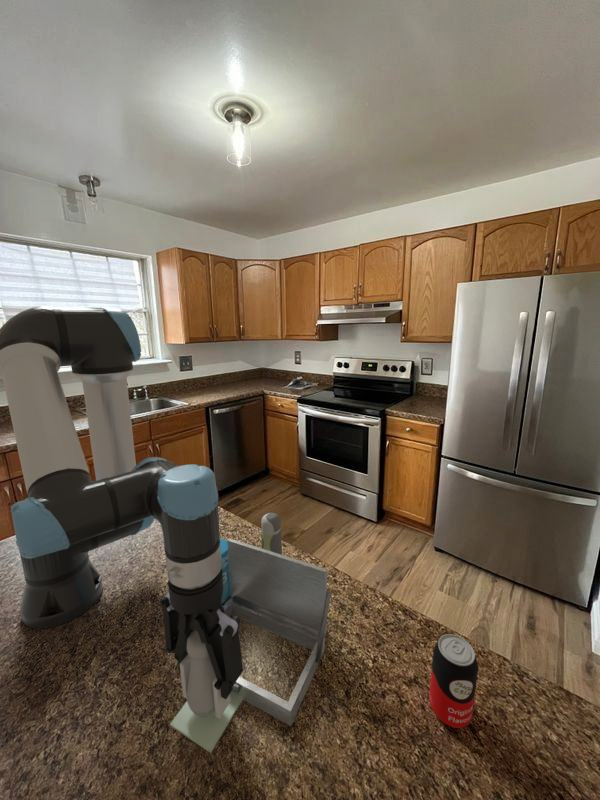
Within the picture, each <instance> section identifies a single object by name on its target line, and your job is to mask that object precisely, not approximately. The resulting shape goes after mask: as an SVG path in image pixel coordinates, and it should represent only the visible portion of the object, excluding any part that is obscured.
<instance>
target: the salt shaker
mask: <svg viewBox="0 0 600 800" xmlns="http://www.w3.org/2000/svg"><path fill="white" fill-rule="evenodd" d="M187 652H188V655H189V657H190V658H191V662H190V671H189V681H188V690H187V699H186V702H187V703H188V705H189V707H190V709H191V711H192V712H193V713H194V714H195V715H198V716H201V717H205V718H206V717H208V716H209V715H211V714H212V713H213V712H215V703H214V691H213V681H214V680H215V678H216V676H215V672H214V669H213V666H212V663H211V660H210V657H209V654H208V651H207V648H206V645H205V644H204V643H202V642H201V640H200V637H199V634H198V632H197V631H196V630H195V631H193V632H192V633H191V634H190V636H189V637H188V639H187Z"/></svg>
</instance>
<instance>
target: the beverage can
mask: <svg viewBox="0 0 600 800" xmlns="http://www.w3.org/2000/svg"><path fill="white" fill-rule="evenodd" d="M430 674H431V675H430V683H429V684H430V685H429V686H430V687H429V694H428V695H429V698H428V699H429V704H430V707H431V709H432V711H433V713H434V714H435V716H436V717H437V718H438V720H440V721H441V722H443V724H445V725H447V726H449V727H451V728H456V729H462V728H463V729H464V728H465V727H467V726H468V725H469V724H470V723H471V721H472V719H473V713H474V704H475V699H476V697H475V695H476V689H477V683H478V682H477V681H478V674H479V663H478V660H477V657H476V653H475V649H473V646H472V645H471V643H469V642H468V641H467V640H466V639H465V638H463V637H461V636H459V635H457V634H451V633H447V634H443V635H441V636H440V638H439V639H438V641H437V643H435V645H434V648H433V652H432V663H431V673H430Z"/></svg>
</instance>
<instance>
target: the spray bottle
mask: <svg viewBox="0 0 600 800" xmlns="http://www.w3.org/2000/svg"><path fill="white" fill-rule="evenodd" d="M260 523H261V531H260V532H261V534H260V536H261V537H260V538H261V539H260V540H261V541H260V542H261V548H262V549H265V550H268V551H271V552H274V553H278V554H281V555H283V544H282V539H283V538H282V528H281V527H282V524H281V519H280V516H279V515H278V514H277V513H275V512H268V513H265V514H264V515H263V516H262V517H261V521H260Z"/></svg>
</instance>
